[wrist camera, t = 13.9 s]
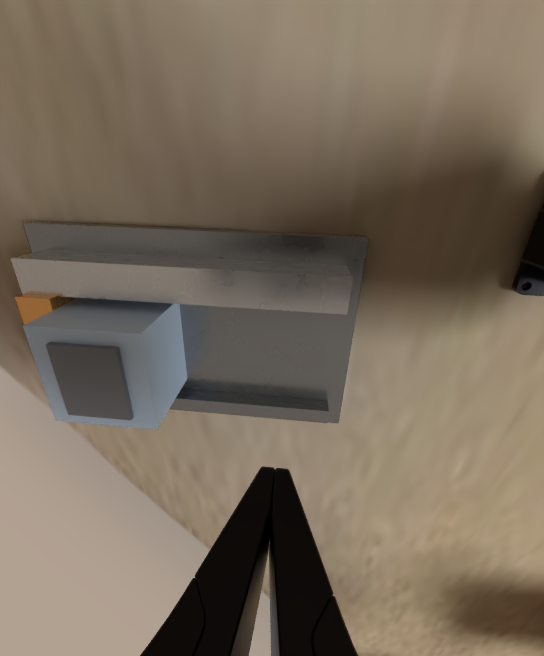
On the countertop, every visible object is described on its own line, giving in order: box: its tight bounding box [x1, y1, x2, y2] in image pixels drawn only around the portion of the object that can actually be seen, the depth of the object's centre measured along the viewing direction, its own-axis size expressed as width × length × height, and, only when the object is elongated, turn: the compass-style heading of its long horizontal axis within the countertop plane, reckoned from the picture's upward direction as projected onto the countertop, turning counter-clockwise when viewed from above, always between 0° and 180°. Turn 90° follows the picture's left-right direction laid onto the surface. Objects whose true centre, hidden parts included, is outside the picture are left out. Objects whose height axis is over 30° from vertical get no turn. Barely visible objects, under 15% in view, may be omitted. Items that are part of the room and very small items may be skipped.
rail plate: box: [10, 221, 368, 423], centre depth 19 cm, size 20×13×4 cm, turn 88°
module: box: [23, 298, 187, 430], centre depth 18 cm, size 6×6×5 cm
